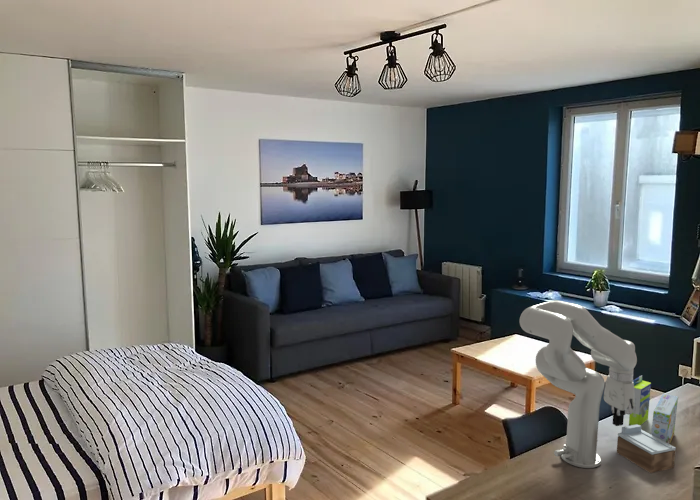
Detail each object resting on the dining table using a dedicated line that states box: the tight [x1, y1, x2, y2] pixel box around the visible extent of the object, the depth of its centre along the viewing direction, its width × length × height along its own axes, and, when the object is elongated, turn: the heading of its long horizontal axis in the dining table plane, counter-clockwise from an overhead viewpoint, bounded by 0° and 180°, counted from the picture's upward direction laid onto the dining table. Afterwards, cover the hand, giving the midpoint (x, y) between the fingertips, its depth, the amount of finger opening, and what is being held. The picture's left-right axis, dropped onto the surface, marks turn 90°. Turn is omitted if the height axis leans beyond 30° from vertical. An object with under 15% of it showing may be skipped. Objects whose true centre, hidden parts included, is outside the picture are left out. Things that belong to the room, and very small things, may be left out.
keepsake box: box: [616, 435, 676, 474], centre depth 186 cm, size 10×14×6 cm
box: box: [628, 375, 652, 426], centre depth 214 cm, size 10×4×17 cm, turn 132°
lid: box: [617, 424, 676, 455], centre depth 185 cm, size 10×14×3 cm
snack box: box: [650, 393, 679, 445], centre depth 198 cm, size 21×6×15 cm, turn 143°
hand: (617, 424), depth 197 cm, fingers closed
